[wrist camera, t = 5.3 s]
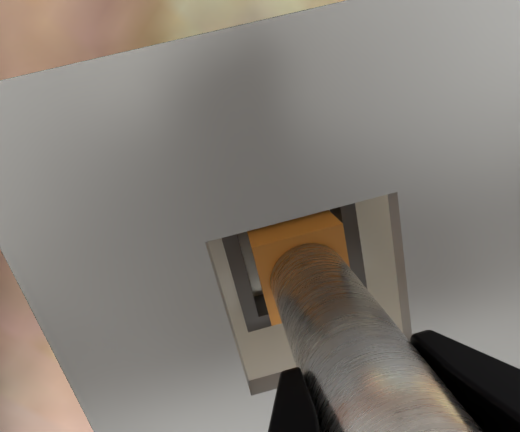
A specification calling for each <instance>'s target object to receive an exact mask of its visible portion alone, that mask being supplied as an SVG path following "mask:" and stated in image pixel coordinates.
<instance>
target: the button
mask: <svg viewBox="0 0 520 432" xmlns="http://www.w3.org/2000/svg"><path fill="white" fill-rule="evenodd" d="M247 233H248V237H249V241H250V245H251V249H252V253H253V257H254V261H255V265H256V268H257V272H258V276H259V280H260V284H261V288H262V292H263V296H264V300H265V303H266V307H267V310H268V314H269V318H270V321H271V325H272V326H274V325H277V324H281V323H282V321H281V318H280V315H279V312H278V309H277V306H276V303H275V300H274V297H273V294H272V291H271V286H270V278H271V273H272V270H273V267H274V265H275V264H276V262H277V261H278V259H279V258H280V257H281V256H282V255H283V254H284V253H285V252H287V251H288V250H290V249H291V248H293V247H296V246H298V245H301V244H306V243H318V244H323V245H326V246H328V247H330V248H332V249H333V250H335V251H336V252H337V253H338V254H339V255H340V257H341V258H342V259H343V260H344V261H345V263H346V264H347V265H348V266H349V268H350V265H349V258H348V252H347V246H346V240H345V233H344V227H343V223H342V222H341V221H340V220H339V219H338V218H336V217H335V216H334V215H333V214H332V213H331V212H330V211H329V210H326V211H322V212H318V213H315V214H311V215H307V216H303V217H299V218H296V219H292V220H288V221H284V222H280V223H277V224H273V225H269V226H265V227H261V228H258V229H254V230H250V231H247Z"/></svg>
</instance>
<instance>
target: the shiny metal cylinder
mask: <svg viewBox="0 0 520 432" xmlns="http://www.w3.org/2000/svg"><path fill="white" fill-rule="evenodd" d="M270 286H271V291H272V294H273V297H274V300H275V303H276V306H277V309H278V312H279V315H280V318H281V321H282V324H283V327H284V330H285V334H286V337H287V340H288V343H289V346H290V349H291V352H292V355H293V358H294V361H295V364H296V367H299V368H300V369H301V371H302V373H303V376H304V379H305V382H306V384H307V387H308V390H309V392H310V395H311V398H312V401H313V403H314V406H315V409H316V412H317V416H318V420H319V425H320V429H321V432H483V430H482V429H481V428H480V427H479V426H478V424H477V423H476V422H475V421H474V419H473V418H472V417H471V416H470V415H469V413H468V412H467V411H466V410H465V408H464V407H463V406H462V405H461V403H460V402H459V401H458V400H457V399H456V397H455V396H454V395H453V394H452V392H451V391H450V390H449V389H448V388H447V386H446V385H445V384H444V383H443V381H442V380H441V379H440V378H439V377H438V375H437V374H436V373H435V372H434V370H433V369H432V368H431V367H430V366H429V364H428V363H427V362H426V361H425V359H424V358H423V357H422V356H421V355H420V353H419V352H418V351H417V350H416V348H415V347H414V346H413V345H412V344H411V342H410V341H409V340H408V339H407V337H406V336H405V335H404V334H403V332H402V331H401V330H400V329H399V328H398V326H397V325H396V324H395V323H394V321H393V320H392V319H391V318H390V317H389V315H388V314H387V313H386V312H385V310H384V309H383V308H382V307H381V306H380V304H379V303H378V302H377V301H376V299H375V298H374V297H373V296H372V295H371V293H370V292H369V291H368V290H367V288H366V287H365V286H364V285H363V284H362V282H361V281H360V280H359V279H358V277H357V276H356V275H355V274H354V272H353V271H352V270H351V269H350V268H349V266H348V265H347V264H346V263H345V261H344V260H343V259H342V258H341V257H340V255H339V254H338V253H337V252H336V251H335V250H333V249H332V248H330V247H328V246H326V245H323V244H318V243H306V244H301V245H298V246H296V247H293V248H291V249H290V250H288V251H287V252H285V253H284V254H283V255H282V256H281V257H280V258H279V259H278V261H277V262H276V264H275V265H274V267H273V270H272V273H271V278H270Z"/></svg>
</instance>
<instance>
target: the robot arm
mask: <svg viewBox="0 0 520 432" xmlns="http://www.w3.org/2000/svg"><path fill="white" fill-rule="evenodd" d="M410 342H411V344H412V345H413V346H414V347H415V348H416V350H417V351H418V352H419V353H420V355H421V356H422V357H423V358H424V359H425V361H426V362H427V363H428V364H429V366H430V367H431V368H432V369H433V370H434V372H435V373H436V374H437V375H438V377H439V378H440V379H441V380H442V381H443V383H444V384H445V385H446V386H447V388H448V389H449V390H450V391H451V392H452V394H453V395H454V396H455V397H456V399H457V400H458V401H459V402H460V403H461V405H462V406H463V407H464V408H465V410H466V411H467V412H468V413H469V415H470V416H471V417H472V418H473V419H474V421H475V422H476V423H477V424H478V426H479V427H480V428H481V429H482V430H483V432H520V369H519V368H517V367H514V366H512V365H510V364H507V363H505V362H503V361H501V360H498V359H496V358H494V357H492V356H489V355H487V354H485V353H483V352H480V351H478V350H476V349H474V348H471V347H469V346H467V345H464V344H462V343H460V342H458V341H455V340H453V339H451V338H449V337H446V336H444V335H442V334H440V333H437V332H435V331H433V330H424V331H421V332H417V333H414V334H412V335H411V338H410ZM268 432H321V429H320V425H319V420H318V416H317V412H316V409H315V406H314V403H313V401H312V398H311V395H310V392H309V390H308V387H307V384H306V382H305V379H304V376H303V373H302V371H301V369H300V368H299V367H294V368H291V369H287V370H284V371H282V372H281V373H280V376H279V381H278V386H277V391H276V395H275V400H274V405H273V409H272V414H271V419H270V423H269V428H268Z"/></svg>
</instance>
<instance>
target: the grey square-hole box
mask: <svg viewBox="0 0 520 432" xmlns="http://www.w3.org/2000/svg"><path fill="white" fill-rule="evenodd" d="M326 210H329V211H330V212H331V213H332V214H333V215H334V216H335V217H336V218H338V219H339V220H340V221H341V222H342V223H343V227H344V233H345V240H346V246H347V252H348V258H349V265H350V269H351V270H352V271H353V272H354V274H355V275H356V276H357V277H358V279H359V280H360V281H361V282H362V284H363V285H364V286H365V287H366V288H367V290H368V291H369V292H370V293H371V295H372V296H373V297H374V298H375V299H376V301H377V302H378V303H379V304H380V306H381V307H382V308H383V309H384V310H385V312H386V313H387V314H388V315H389V317H390V318H391V319H392V320H393V321H394V323H395V324H396V325H397V326H398V328H399V329H400V330H401V331H402V332H403V334H404V335H405V336H406V337H407V339H408V340H409V341H410V338H411V335H412V334H414V333H417V332H421V331H424V330H433V331H435V332H437V333H440V334H442V335H444V336H446V337H449V338H451V339H453V340H455V341H458V342H460V343H462V344H464V345H467V346H469V347H471V348H474V349H476V350H478V351H480V352H483V353H485V354H487V355H489V356H492V357H494V358H496V359H498V360H501V361H503V362H505V363H507V364H510V365H512V366H514V367H517V368H519V369H520V0H346V1H342V2H338V3H333V4H329V5H325V6H320V7H316V8H312V9H307V10H303V11H299V12H294V13H290V14H286V15H281V16H277V17H273V18H268V19H264V20H260V21H255V22H251V23H247V24H242V25H238V26H234V27H229V28H225V29H221V30H216V31H212V32H208V33H203V34H199V35H195V36H190V37H186V38H182V39H177V40H173V41H169V42H164V43H160V44H156V45H151V46H147V47H143V48H138V49H134V50H130V51H125V52H121V53H117V54H112V55H108V56H104V57H99V58H95V59H91V60H87V61H82V62H78V63H74V64H69V65H65V66H61V67H56V68H52V69H48V70H43V71H39V72H35V73H30V74H26V75H22V76H17V77H13V78H9V79H4V80H0V249H1V251H2V253H3V255H4V257H5V259H6V261H7V263H8V265H9V267H10V269H11V271H12V273H13V275H14V277H15V279H16V281H17V283H18V284H19V286H20V288H21V290H22V292H23V294H24V296H25V298H26V300H27V302H28V304H29V306H30V308H31V310H32V312H33V314H34V316H35V318H36V320H37V322H38V324H39V326H40V327H41V329H42V331H43V333H44V335H45V337H46V339H47V341H48V343H49V345H50V347H51V349H52V351H53V353H54V355H55V357H56V359H57V361H58V363H59V365H60V367H61V369H62V370H63V372H64V374H65V376H66V378H67V380H68V382H69V384H70V386H71V388H72V390H73V392H74V394H75V396H76V398H77V400H78V402H79V404H80V406H81V408H82V410H83V412H84V414H85V415H86V417H87V419H88V421H89V423H90V425H91V427H92V429H93V431H94V432H268V428H269V423H270V419H271V414H272V409H273V405H274V400H275V395H276V391H277V386H278V381H279V376H280V373H281V372H282V371H284V370H287V369H291V368H294V367H296V364H295V361H294V358H293V355H292V352H291V349H290V346H289V343H288V340H287V337H286V334H285V330H284V327H283V324H282V323H281V324H277V325H274V326H272V325H271V321H270V318H269V314H268V310H267V307H266V303H265V300H264V296H263V292H262V288H261V284H260V280H259V276H258V272H257V268H256V265H255V261H254V257H253V253H252V249H251V245H250V241H249V237H248V233H247V231H250V230H254V229H258V228H261V227H265V226H269V225H273V224H277V223H280V222H284V221H288V220H292V219H296V218H299V217H303V216H307V215H311V214H315V213H318V212H322V211H326Z"/></svg>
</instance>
